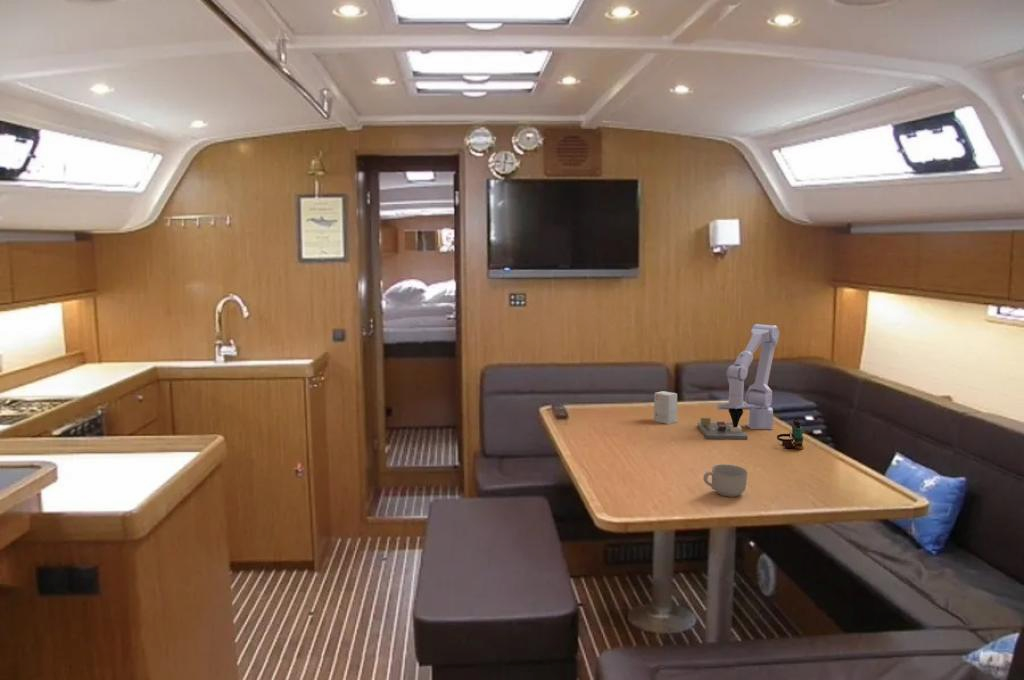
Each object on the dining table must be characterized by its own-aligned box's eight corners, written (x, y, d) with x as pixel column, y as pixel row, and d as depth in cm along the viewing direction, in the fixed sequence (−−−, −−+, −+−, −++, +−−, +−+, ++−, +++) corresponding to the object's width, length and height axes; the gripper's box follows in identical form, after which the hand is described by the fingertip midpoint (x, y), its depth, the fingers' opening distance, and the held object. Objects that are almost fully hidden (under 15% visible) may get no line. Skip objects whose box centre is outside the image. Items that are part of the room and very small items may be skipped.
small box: (677, 422, 329) (677, 393, 327) (668, 424, 325) (668, 395, 323) (662, 419, 335) (663, 390, 333) (653, 421, 331) (654, 392, 329)
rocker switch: (723, 424, 310) (724, 421, 310) (726, 429, 306) (726, 426, 305) (717, 424, 310) (717, 421, 310) (719, 429, 306) (719, 426, 305)
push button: (739, 430, 310) (739, 425, 309) (741, 432, 305) (741, 428, 305) (728, 430, 310) (728, 425, 310) (730, 432, 306) (730, 427, 306)
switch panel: (735, 426, 320) (735, 420, 320) (747, 439, 299) (747, 433, 298) (697, 425, 322) (698, 420, 322) (706, 439, 300) (706, 432, 300)
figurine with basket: (774, 419, 292) (801, 417, 290) (776, 445, 293) (803, 444, 291) (777, 424, 283) (805, 422, 281) (779, 451, 284) (807, 450, 282)
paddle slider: (709, 424, 316) (709, 417, 316) (710, 425, 314) (710, 418, 314) (699, 424, 317) (700, 417, 316) (700, 425, 315) (700, 418, 314)
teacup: (740, 488, 239) (740, 463, 238) (751, 499, 229) (752, 474, 228) (697, 488, 239) (697, 464, 238) (707, 500, 228) (707, 474, 227)
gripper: (720, 396, 302) (719, 428, 304) (756, 396, 301) (755, 429, 303) (716, 392, 309) (715, 424, 311) (752, 393, 308) (751, 425, 310)
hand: (735, 426), depth 307 cm, fingers closed, pressing on push button
